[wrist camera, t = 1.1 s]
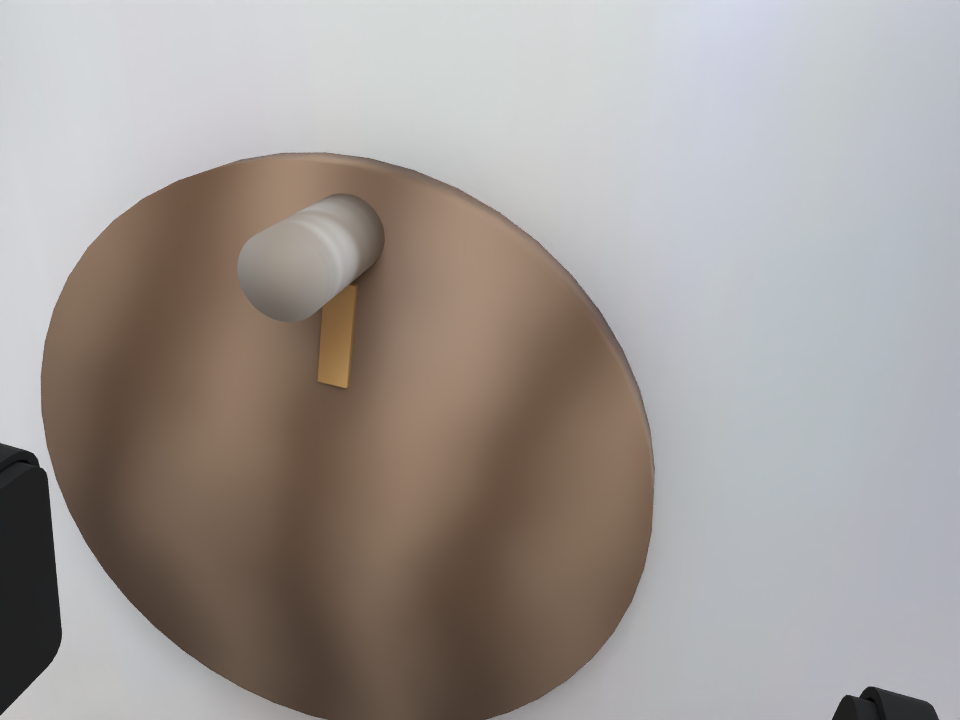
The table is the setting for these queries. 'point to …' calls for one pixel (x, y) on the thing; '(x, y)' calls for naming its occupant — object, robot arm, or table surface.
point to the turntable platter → (350, 439)
